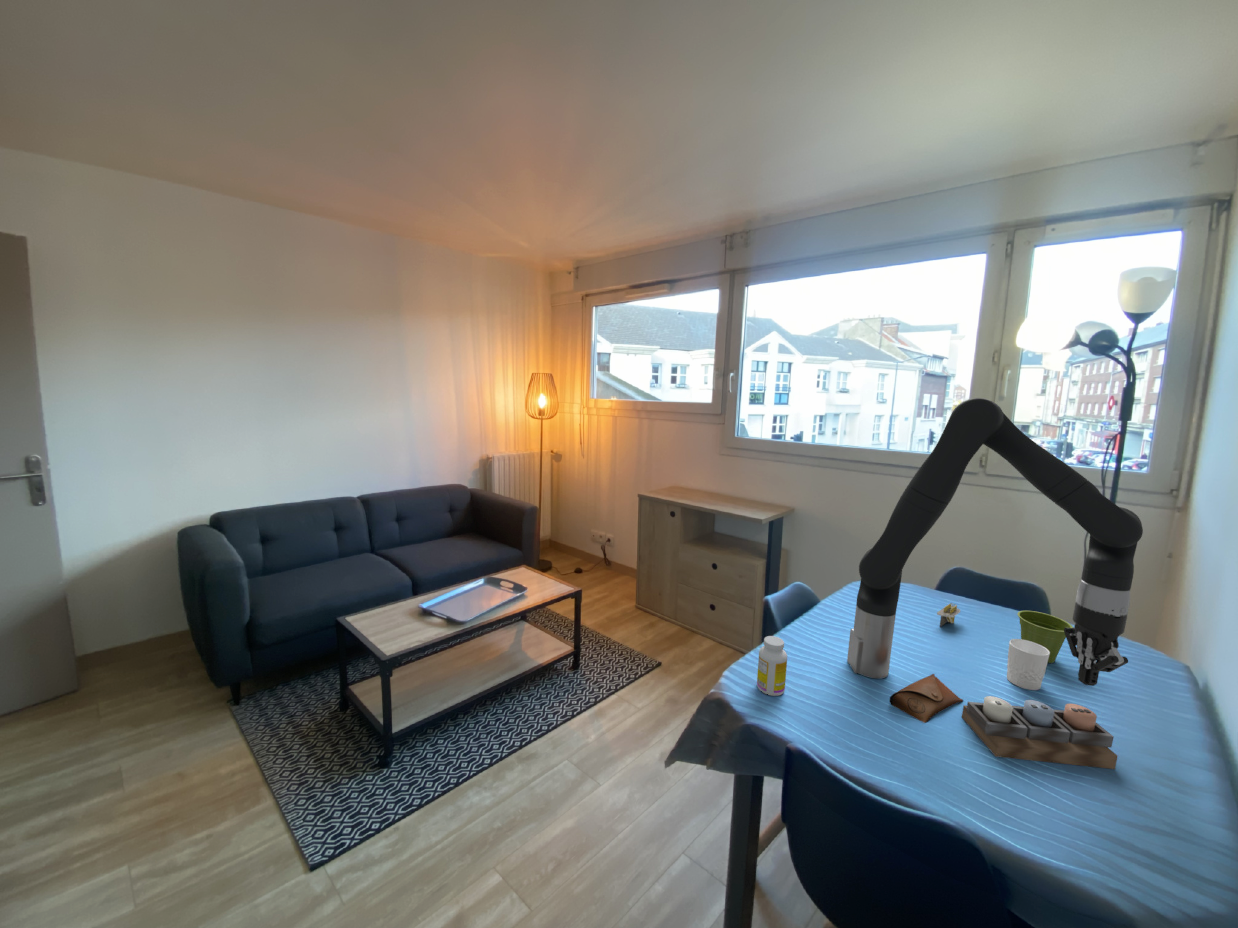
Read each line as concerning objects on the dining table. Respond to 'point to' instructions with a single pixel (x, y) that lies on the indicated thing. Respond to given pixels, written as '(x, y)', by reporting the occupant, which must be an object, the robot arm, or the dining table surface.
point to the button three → (1079, 717)
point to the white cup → (1026, 663)
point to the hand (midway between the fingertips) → (1086, 683)
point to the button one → (997, 709)
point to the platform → (948, 614)
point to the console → (1041, 739)
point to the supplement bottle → (772, 666)
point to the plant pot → (1043, 631)
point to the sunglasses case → (924, 698)
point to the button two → (1038, 713)
